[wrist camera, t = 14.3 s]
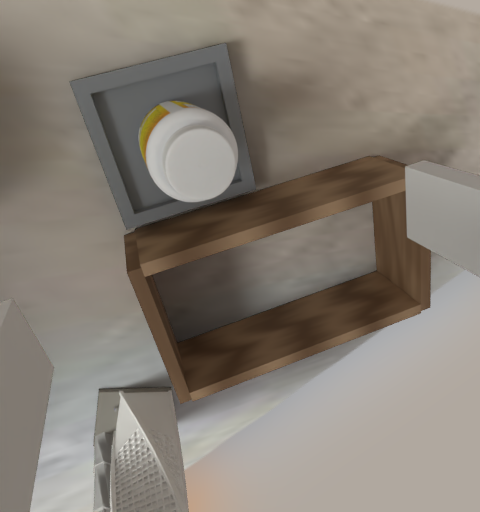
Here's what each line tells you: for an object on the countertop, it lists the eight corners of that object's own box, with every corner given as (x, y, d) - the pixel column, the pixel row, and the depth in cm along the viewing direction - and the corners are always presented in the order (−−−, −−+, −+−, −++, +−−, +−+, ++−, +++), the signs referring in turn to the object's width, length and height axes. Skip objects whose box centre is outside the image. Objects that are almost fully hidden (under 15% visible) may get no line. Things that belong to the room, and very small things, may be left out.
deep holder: (170, 354, 40) (181, 406, 34) (123, 232, 34) (125, 269, 28) (385, 275, 44) (430, 309, 37) (378, 153, 37) (431, 169, 31)
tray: (125, 222, 33) (126, 229, 32) (71, 81, 28) (69, 81, 27) (250, 184, 35) (256, 189, 34) (220, 44, 30) (226, 42, 28)
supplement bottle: (149, 182, 32) (163, 225, 23) (128, 108, 29) (136, 124, 20) (217, 165, 33) (257, 201, 24) (203, 92, 30) (241, 101, 21)
